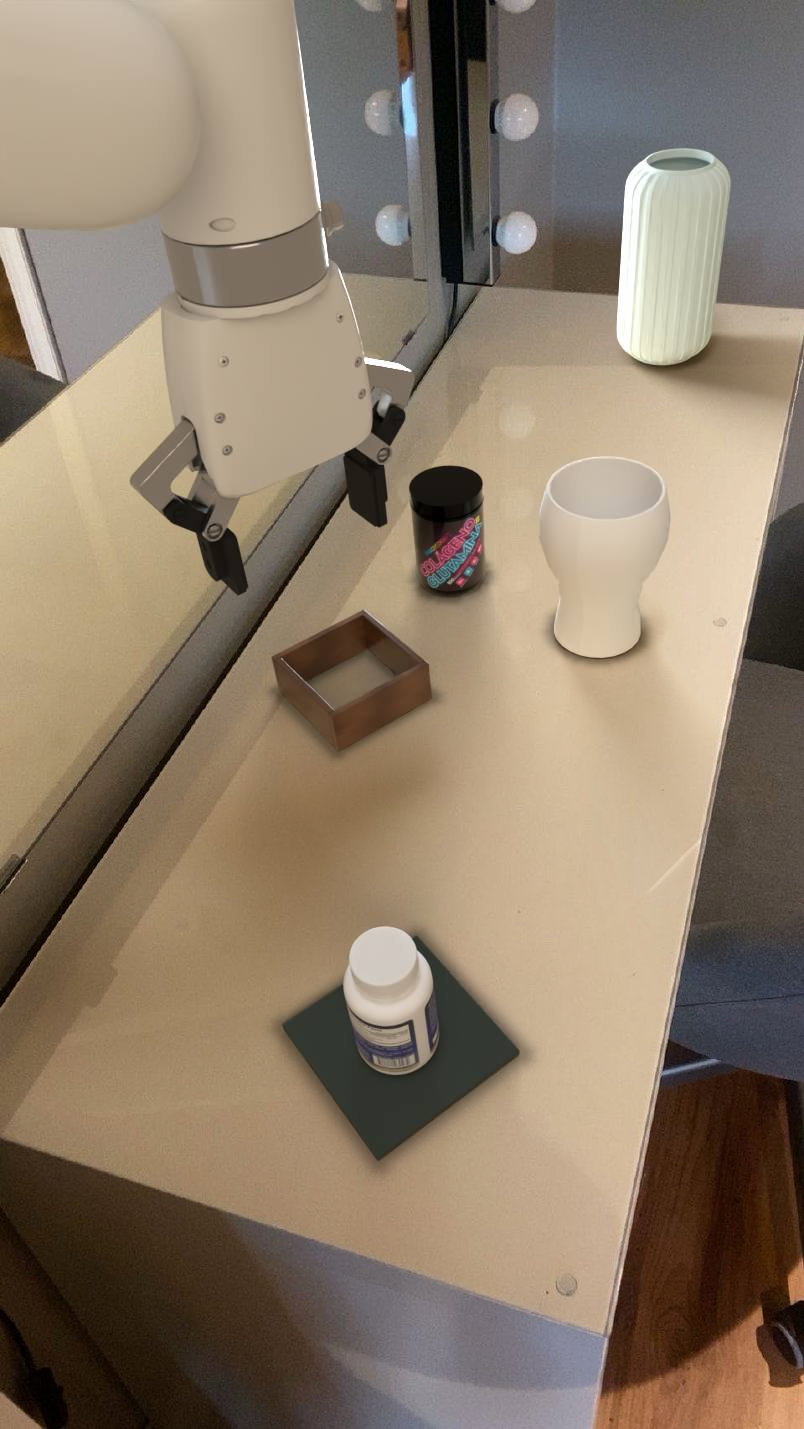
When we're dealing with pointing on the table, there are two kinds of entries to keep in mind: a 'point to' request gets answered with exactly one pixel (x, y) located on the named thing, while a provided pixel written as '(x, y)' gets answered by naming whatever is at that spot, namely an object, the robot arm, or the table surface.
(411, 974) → the pill bottle
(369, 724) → the crate
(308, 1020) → the pad
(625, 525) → the cup
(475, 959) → the table surface
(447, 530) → the supplement container
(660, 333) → the vase
